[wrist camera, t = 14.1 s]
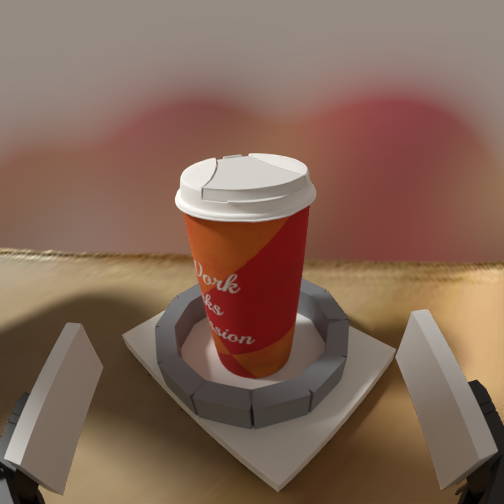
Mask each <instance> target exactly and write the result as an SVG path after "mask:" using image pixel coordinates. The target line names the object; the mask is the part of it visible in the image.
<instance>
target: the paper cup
mask: <svg viewBox="0 0 504 504" xmlns="http://www.w3.org/2000/svg"><path fill="white" fill-rule="evenodd" d="M217 162H218V165H216V159H215V158H211V159H207V160H204V161H201V162H199V163H196V164H194V165H192V166H190V167H188V168H187V169H186V170H184V172H183V173H182V175H181V178H180V179H181V180H180V189H179V190H178V192H177V194H176V197H175V203H176V205H177V207H178V208H179V209H180V210H181V211H183V213H184V218H185V223H186V228H187V233H188V237H189V242H190V246H191V251H192V255H193V260H194V264H195V268H196V273H197V277H198V281H199V286H200V290H201V294H202V298H203V302H204V306H205V310H206V314H207V318H208V322H209V325H210V329H211V333H212V336H213V340H214V344H215V347H216V350H217V353H218V356H219V359H220V361H221V363H222V364H223V366H224V367H225V368H226V369H227V370H228V371H230V372H231V373H233V374H235V375H237V376H240V377H244V378H262V377H267V376H270V375H272V374H274V373H276V372H278V371H279V370H280V369H281V368H283V367H284V365H285V364H286V363H287V361H288V359H289V356H290V353H291V348H292V343H293V337H294V331H295V324H296V317H297V310H298V303H299V295H300V288H301V280H302V271H303V263H304V254H305V245H306V236H307V226H308V216H309V206H310V204H311V203H312V202H313V201H314V199H315V197H316V189H315V187H314V185H313V183H312V182H311V181H310V177H309V171H308V169H307V167H306V165H305V164H303V163H302V162H300V161H298V160H296V159H293V158H289V157H284V156H280V155H272V154H249V156H247V157H242V155H234V156H225V157H223V159H221V160H217Z"/></svg>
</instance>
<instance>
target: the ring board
mask: <svg viewBox="0 0 504 504" xmlns="http://www.w3.org/2000/svg"><path fill="white" fill-rule="evenodd" d="M122 337H123V339H124V342H125V344H126V346H127V348H128V349H129V350H130V351H131V352H132V354H133V355H134V356H135V357H136V358H137V359H138V361H139V362H140V363H141V364H142V365H143V366H144V368H145V369H146V370H147V371H148V372H149V373H150V374H151V375H152V377H153V378H154V379H155V380H156V381H157V382H158V383H159V384H160V385H161V386H162V388H163V389H164V390H165V391H166V392H167V393H168V394H169V395H170V396H171V397H172V398H173V399H174V400H175V401H176V402H177V403H178V404H179V405H180V406H181V407H182V408H183V409H184V410H185V411H186V412H187V413H188V414H189V415H190V416H191V417H192V418H193V419H194V420H195V421H196V422H197V423H198V424H199V425H200V426H201V427H202V428H203V429H204V430H205V431H206V432H207V433H208V434H209V435H210V436H212V437H213V438H214V439H215V440H216V441H217V442H218V443H219V444H220V445H221V446H223V447H224V448H225V449H226V450H227V451H228V452H229V453H230V454H232V455H233V456H234V457H235V458H236V459H237V460H239V461H240V462H241V463H242V464H243V465H244V466H246V467H247V468H248V469H249V470H251V471H252V472H253V473H254V474H255V475H257V476H258V477H259V478H260V479H262V480H263V481H264V482H266V483H267V484H268V485H269V486H271V487H272V488H273V489H275V490H276V491H277V492H279V491H280V490H281V489H282V488H283V487H284V486H286V485H287V484H288V483H289V482H290V481H291V480H292V479H293V478H294V477H295V476H296V475H297V474H298V473H299V472H300V471H301V470H302V469H303V468H304V467H305V466H306V465H307V464H308V463H309V462H310V461H311V460H312V459H313V458H314V456H315V455H316V454H317V453H318V452H319V451H320V450H321V449H322V448H323V447H324V446H325V445H326V444H327V442H328V441H329V440H330V439H331V438H332V437H333V436H334V435H335V433H336V432H337V431H338V430H339V429H340V428H341V426H342V425H343V424H344V423H345V422H346V421H347V419H348V418H349V417H350V416H351V415H352V413H353V412H354V411H355V410H356V408H357V407H358V406H359V405H360V403H361V402H362V401H363V400H364V398H365V397H366V396H367V395H368V393H369V392H370V391H371V389H372V388H373V387H374V385H375V384H376V383H377V381H378V380H379V379H380V377H381V376H382V374H383V373H384V372H385V370H386V369H387V368H388V366H389V365H390V363H391V362H392V360H393V357H394V354H395V352H396V349H395V348H393V347H391V346H389V345H387V344H385V343H383V342H381V341H379V340H377V339H375V338H373V337H371V336H369V335H367V334H365V333H363V332H361V331H359V330H357V329H355V328H353V327H351V326H349V320H348V317H347V315H346V314H345V313H344V311H343V310H342V309H341V307H340V306H339V305H338V303H337V302H336V301H335V299H334V298H333V297H332V295H331V294H330V293H329V291H327V292H326V289H324V288H322V287H320V286H318V285H315V284H313V283H311V282H309V281H307V280H305V279H303V278H302V280H301V288H300V295H299V303H298V310H297V317H296V324H295V331H294V337H293V343H292V348H291V353H290V356H289V359H288V361H287V363H286V364H285V365H284V367H283V368H281V369H280V370H279V371H278V372H276V373H274V374H272V375H270V376H267V377H262V378H244V377H240V376H237V375H235V374H233V373H231V372H230V371H228V370H227V369H226V368H225V367H224V366H223V364H222V363H221V361H220V359H219V356H218V353H217V350H216V347H215V344H214V340H213V336H212V333H211V329H210V325H209V322H208V318H207V314H206V310H205V306H204V302H203V298H202V294H201V290H200V286H199V283H198V284H196V285H195V286H193V287H191V288H189V289H187V290H186V291H184V292H182V293H180V294H179V295H177V298H176V297H175V298H174V299H173V300H172V302H171V303H170V305H169V306H168V308H167V309H166V310H164V311H163V312H161V313H159V314H157V315H156V316H154V317H152V318H150V319H149V320H147V321H145V322H143V323H142V324H140V325H138V326H136V327H135V328H133V329H131V330H129V331H128V332H126V333H124V334H122Z"/></svg>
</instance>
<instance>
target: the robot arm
mask: <svg viewBox="0 0 504 504" xmlns="http://www.w3.org/2000/svg"><path fill="white" fill-rule="evenodd" d="M395 358H396V360H397V363H398V365H399V368H400V370H401V373H402V376H403V378H404V381H405V383H406V386H407V389H408V391H409V394H410V397H411V400H412V402H413V405H414V408H415V411H416V414H417V416H418V419H419V422H420V425H421V428H422V431H423V434H424V437H425V440H426V443H427V446H428V449H429V453H430V456H431V459H432V462H433V466H434V469H435V472H436V476H437V479H438V483H439V486H440V490H443V489H446V488H449V487H451V486H454V485H456V484H459V483H460V482H461V481H463V480H464V479H465V478H466V479H467V482H468V483H466V484H465V485H463V486H462V487H461V488H459V489H458V490H457V492H456V493H455V495H458V494H460V493H461V492H462V495H461V497H460V500H459V502H458V504H504V426H503V423H502V421H501V419H500V417H499V414H498V412H497V411H496V408H495V406H494V404H493V402H491V401H492V400H491V398H490V396H489V394H488V392H487V390H486V388H485V387H484V386H483V385H482V384H481V383H480V382H479V381H478V380H474V381H471V382H467V380H466V378H465V376H464V374H463V372H462V370H461V368H460V366H459V364H458V362H457V360H456V358H455V356H454V355H453V353H452V351H451V349H450V347H449V345H448V344H447V342H446V340H445V338H444V336H443V335H442V333H441V331H440V329H439V327H438V326H437V324H436V322H435V321H434V319H433V317H432V315H431V314H430V312H429V310H428V309H425V310H417V311H412V312H411V315H410V318H409V321H408V324H407V327H406V330H405V333H404V335H403V338H402V341H401V344H400V346H399V349H398V352H397V354H396V357H395ZM102 370H103V365H102V363H101V361H100V359H99V357H98V356H97V354H96V352H95V350H94V348H93V346H92V344H91V342H90V340H89V338H88V336H87V334H86V332H85V330H84V328H83V326H82V324H81V323H66V325H65V327H64V329H63V330H62V332H61V334H60V336H59V338H58V340H57V341H56V343H55V345H54V347H53V349H52V351H51V353H50V355H49V357H48V359H47V361H46V363H45V365H44V366H43V369H42V371H41V373H40V375H39V377H38V379H37V381H36V383H35V385H34V387H33V389H32V391H31V394H28V393H24V394H23V395H22V397H21V398H20V399H19V400H18V401H17V402H16V405H15V407H14V409H13V411H12V415H11V416H10V418H9V420H8V422H9V423H7V425H6V427H5V430H4V432H3V435H2V437H1V440H0V504H45V501H44V499H43V497H42V494H41V493H40V491H39V489H38V486H39V485H40V486H42V487H43V488H45V489H47V490H49V491H51V492H54V493H57V494H60V495H63V493H64V490H65V486H66V482H67V478H68V474H69V471H70V467H71V464H72V460H73V457H74V453H75V450H76V447H77V443H78V440H79V437H80V434H81V430H82V427H83V424H84V421H85V418H86V415H87V412H88V409H89V406H90V403H91V400H92V397H93V395H94V392H95V389H96V386H97V383H98V381H99V378H100V375H101V373H102Z"/></svg>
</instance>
